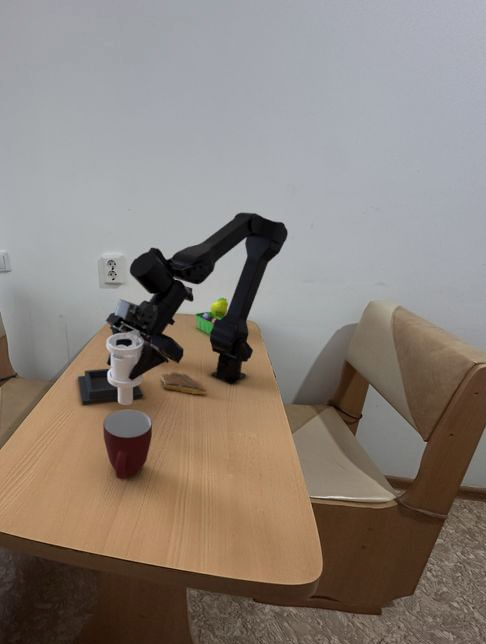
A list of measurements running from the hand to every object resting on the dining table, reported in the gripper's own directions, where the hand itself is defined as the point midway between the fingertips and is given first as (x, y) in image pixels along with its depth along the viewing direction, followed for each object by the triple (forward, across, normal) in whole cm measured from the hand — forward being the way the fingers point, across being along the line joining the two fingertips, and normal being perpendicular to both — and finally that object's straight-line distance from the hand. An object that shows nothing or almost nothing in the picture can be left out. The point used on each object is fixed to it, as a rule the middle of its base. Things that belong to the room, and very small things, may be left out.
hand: (118, 371), depth 73 cm
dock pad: (+4, -13, +13) cm, 19 cm away
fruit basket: (-30, -24, +48) cm, 62 cm away
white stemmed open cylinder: (+4, 0, +6) cm, 8 cm away
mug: (+14, +13, +3) cm, 20 cm away
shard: (-6, -4, +25) cm, 26 cm away
